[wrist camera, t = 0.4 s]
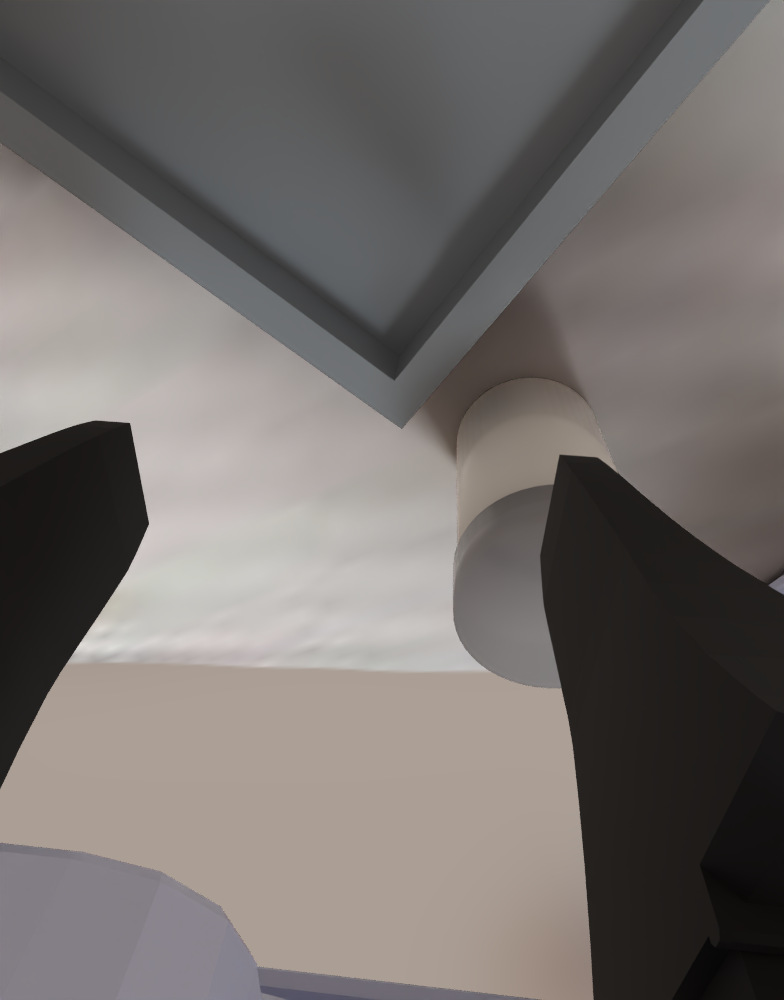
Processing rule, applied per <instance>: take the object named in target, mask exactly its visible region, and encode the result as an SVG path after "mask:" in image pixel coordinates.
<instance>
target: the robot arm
mask: <svg viewBox="0 0 784 1000" xmlns="http://www.w3.org/2000/svg"><path fill="white" fill-rule="evenodd" d="M148 525H149V521H148V516H147V511H146V505H145V500H144V495H143V490H142V484H141V479H140V474H139V468H138V463H137V458H136V452H135V447H134V442H133V437H132V431H131V426H130V423H122V422H108V421H91V422H87V423H82V424H79V425H76V426H72V427H69V428H66V429H63V430H61V431H58V432H55V433H52V434H50V435H47V436H44V437H41V438H39V439H36V440H34V441H31V442H28V443H26V444H23V445H21V446H18V447H16V448H13V449H10V450H8V451H5V452H3V453H0V788H1V786H2V784H3V782H4V780H5V777H6V776H7V773H8V771H9V769H10V767H11V765H12V763H13V761H14V758H15V757H16V754H17V752H18V750H19V748H20V746H21V744H22V742H23V740H24V738H25V736H26V734H27V733H28V731H29V728H30V726H31V725H32V722H33V721H34V719H35V717H36V715H37V713H38V711H39V709H40V707H41V705H42V703H43V701H44V700H45V698H46V696H47V694H48V692H49V691H50V689H51V687H52V686H53V684H54V682H55V680H56V679H57V677H58V676H59V674H60V672H61V671H62V669H63V668H64V666H65V665H66V663H67V662H68V660H69V659H70V657H71V656H72V654H73V653H74V651H75V650H76V648H77V647H78V645H79V644H80V642H81V641H82V639H83V638H84V636H85V635H86V633H87V632H88V630H89V629H90V627H91V626H92V624H93V623H94V621H95V620H96V618H97V617H98V615H99V614H100V612H101V611H102V609H103V608H104V607H105V605H106V603H107V602H108V600H109V599H110V597H111V596H112V594H113V593H114V591H115V590H116V588H117V587H118V585H119V584H120V582H121V580H122V579H123V577H124V576H125V574H126V572H127V571H128V569H129V567H130V565H131V563H132V561H133V559H134V557H135V555H136V552H137V550H138V548H139V546H140V544H141V541H142V539H143V537H144V534H145V532H146V530H147V527H148ZM540 564H541V579H542V592H543V604H544V610H545V615H546V619H547V624H548V629H549V633H550V638H551V643H552V647H553V652H554V656H555V661H556V665H557V670H558V674H559V679H560V683H561V688H562V692H563V697H564V701H565V706H566V710H567V714H568V719H569V726H570V731H571V737H572V743H573V751H574V760H575V770H576V779H577V788H578V798H579V807H580V819H581V829H582V841H583V851H584V863H585V875H586V889H587V901H588V916H589V929H590V941H591V942H590V943H591V959H592V976H593V995H594V1000H784V575H782V576H781V577H780V578H778V579H777V580H775V581H774V582H772V583H771V584H769V585H767V584H765V583H763V582H762V581H760V580H758V579H757V578H755V577H754V576H752V575H750V574H749V573H747V572H745V571H744V570H742V569H740V568H739V567H737V566H736V565H734V564H733V563H731V562H730V561H728V560H727V559H725V558H724V557H722V556H721V555H719V554H718V553H716V552H715V551H714V550H712V549H711V548H709V547H708V546H707V545H705V544H704V543H703V542H701V541H700V540H699V539H697V538H696V537H694V536H693V535H692V534H690V533H689V532H688V531H686V530H685V529H684V528H682V527H681V526H680V525H679V524H677V523H676V522H675V521H674V520H672V519H671V518H670V517H669V516H667V515H666V514H665V513H664V512H662V511H661V510H660V509H659V508H658V507H656V506H655V505H654V504H653V503H652V502H650V501H649V500H648V499H647V498H646V497H645V496H643V495H642V494H641V493H640V492H639V491H638V490H636V489H635V488H634V487H633V486H632V485H631V484H630V483H628V482H627V481H626V480H625V479H624V478H623V477H622V476H620V475H619V474H618V473H617V472H616V471H615V470H613V469H612V468H611V467H610V466H609V465H607V464H606V463H605V462H603V461H602V460H601V459H599V458H598V457H587V456H573V455H560V454H559V460H558V465H557V470H556V475H555V480H554V486H553V491H552V496H551V501H550V506H549V511H548V517H547V522H546V527H545V532H544V537H543V543H542V548H541V553H540ZM0 1000H538V999H529V998H521V997H513V996H504V995H495V994H487V993H478V992H470V991H461V990H453V989H444V988H436V987H426V986H418V985H410V984H401V983H392V982H384V981H376V980H367V979H358V978H350V977H341V976H333V975H324V974H316V973H307V972H298V971H290V970H282V969H273V968H264V967H257V963H256V962H255V960H254V958H253V956H252V955H251V953H250V951H249V950H248V948H247V946H246V945H245V943H244V942H243V940H242V939H241V937H240V935H239V934H238V932H237V931H236V929H235V928H234V927H233V925H232V923H231V922H230V920H229V919H228V917H227V916H226V914H225V913H224V911H223V910H222V908H221V907H220V906H219V905H217V904H216V903H214V902H212V901H210V900H209V899H207V898H205V897H204V896H202V895H200V894H198V893H197V892H195V891H193V890H192V889H190V888H188V887H186V886H185V885H183V884H181V883H180V882H178V881H176V880H175V879H173V878H171V877H169V876H168V875H166V874H164V873H163V872H161V871H157V870H153V869H149V868H145V867H141V866H137V865H133V864H129V863H125V862H121V861H117V860H113V859H109V858H105V857H101V856H97V855H93V854H89V853H85V852H79V851H70V850H69V851H68V850H60V849H51V848H42V847H33V846H23V845H14V844H5V843H0Z"/></svg>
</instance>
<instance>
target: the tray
mask: <svg viewBox="0 0 784 1000" xmlns="http://www.w3.org/2000/svg"><path fill="white" fill-rule="evenodd" d="M769 1H770V0H0V142H1V143H2V144H3V145H5V146H6V147H8V148H9V149H10V150H12V151H13V152H15V153H16V154H17V155H19V156H20V157H22V158H23V159H24V160H26V161H27V162H29V163H30V164H31V165H33V166H34V167H36V168H37V169H38V170H40V171H41V172H43V173H44V174H45V175H47V176H48V177H50V178H51V179H52V180H54V181H55V182H57V183H58V184H59V185H61V186H62V187H64V188H65V189H66V190H68V191H69V192H71V193H72V194H73V195H75V196H76V197H78V198H79V199H80V200H82V201H83V202H85V203H86V204H87V205H89V206H90V207H92V208H93V209H94V210H96V211H97V212H99V213H100V214H101V215H103V216H104V217H106V218H107V219H108V220H110V221H111V222H113V223H114V224H115V225H117V226H118V227H120V228H121V229H122V230H124V231H125V232H127V233H128V234H129V235H131V236H132V237H134V238H135V239H136V240H138V241H139V242H141V243H142V244H143V245H145V246H146V247H148V248H149V249H150V250H152V251H153V252H155V253H156V254H157V255H159V256H160V257H162V258H163V259H164V260H166V261H167V262H169V263H170V264H171V265H173V266H174V267H176V268H177V269H178V270H180V271H181V272H183V273H184V274H185V275H187V276H188V277H190V278H191V279H192V280H194V281H195V282H197V283H198V284H199V285H201V286H202V287H204V288H205V289H206V290H208V291H209V292H211V293H212V294H213V295H215V296H216V297H218V298H219V299H220V300H222V301H223V302H225V303H226V304H227V305H229V306H230V307H232V308H233V309H234V310H236V311H237V312H239V313H240V314H241V315H243V316H244V317H246V318H247V319H248V320H250V321H251V322H253V323H254V324H255V325H257V326H258V327H260V328H261V329H262V330H264V331H265V332H267V333H268V334H269V335H271V336H272V337H274V338H275V339H276V340H278V341H279V342H281V343H282V344H283V345H285V346H286V347H288V348H289V349H290V350H292V351H293V352H295V353H296V354H297V355H299V356H300V357H302V358H303V359H304V360H306V361H307V362H309V363H310V364H311V365H313V366H314V367H316V368H317V369H318V370H320V371H321V372H323V373H324V374H325V375H327V376H328V377H330V378H331V379H332V380H334V381H335V382H337V383H338V384H339V385H341V386H342V387H344V388H345V389H346V390H348V391H349V392H351V393H352V394H353V395H355V396H356V397H358V398H359V399H360V400H362V401H363V402H365V403H366V404H367V405H369V406H370V407H372V408H373V409H374V410H376V411H377V412H379V413H380V414H381V415H383V416H384V417H386V418H387V419H388V420H390V421H391V422H393V423H394V424H395V425H397V426H398V427H400V428H401V429H402V428H403V427H404V426H405V425H406V423H407V422H408V421H409V420H410V419H411V418H412V416H413V415H414V414H415V413H416V412H417V411H418V409H419V408H420V407H421V406H422V405H423V404H424V402H425V401H426V400H427V399H428V398H429V397H430V395H431V394H432V393H433V392H434V391H435V390H436V388H437V387H438V386H439V385H440V384H441V383H442V381H443V380H444V379H445V378H446V377H447V376H448V374H449V373H450V372H451V371H452V370H453V369H454V367H455V366H456V365H457V364H458V363H459V362H460V360H461V359H462V358H463V357H464V356H465V355H466V353H467V352H468V351H469V350H470V349H471V348H472V346H473V345H474V344H475V343H476V342H477V341H478V339H479V338H480V337H481V336H482V335H483V334H484V333H485V331H486V330H487V329H488V328H489V327H490V326H491V324H492V323H493V322H494V321H495V320H496V319H497V317H498V316H499V315H500V314H501V313H502V312H503V310H504V309H505V308H506V307H507V306H508V305H509V303H510V302H511V301H512V300H513V299H514V298H515V296H516V295H517V294H518V293H519V292H520V291H521V289H522V288H523V287H524V286H525V285H526V284H527V282H528V281H529V280H530V279H531V278H532V277H533V275H534V274H535V273H536V272H537V271H538V270H539V268H540V267H541V266H542V265H543V264H544V263H545V261H546V260H547V259H548V258H549V257H550V256H551V254H552V253H553V252H554V251H555V250H556V249H557V247H558V246H559V245H560V244H561V243H562V242H563V240H564V239H565V238H566V237H567V236H568V235H569V234H570V232H571V231H572V230H573V229H574V228H575V227H576V225H577V224H578V223H579V222H580V221H581V220H582V218H583V217H584V216H585V215H586V214H587V213H588V211H589V210H590V209H591V208H592V207H593V206H594V204H595V203H596V202H597V201H598V200H599V199H600V197H601V196H602V195H603V194H604V193H605V192H606V190H607V189H608V188H609V187H610V186H611V185H612V183H613V182H614V181H615V180H616V179H617V178H618V176H619V175H620V174H621V173H622V172H623V171H624V169H625V168H626V167H627V166H628V165H629V164H630V162H631V161H632V160H633V159H634V158H635V157H636V155H637V154H638V153H639V152H640V151H641V150H642V148H643V147H644V146H645V145H646V144H647V143H648V142H649V140H650V139H651V138H652V137H653V136H654V135H655V133H656V132H657V131H658V130H659V129H660V128H661V126H662V125H663V124H664V123H665V122H666V121H667V119H668V118H669V117H670V116H671V115H672V114H673V112H674V111H675V110H676V109H677V108H678V107H679V105H680V104H681V103H682V102H683V101H684V100H685V98H686V97H687V96H688V95H689V94H690V93H691V91H692V90H693V89H694V88H695V87H696V86H697V84H698V83H699V82H700V81H701V80H702V79H703V77H704V76H705V75H706V74H707V73H708V72H709V70H710V69H711V68H712V67H713V66H714V65H715V63H716V62H717V61H718V60H719V59H720V58H721V56H722V55H723V54H724V53H725V52H726V51H727V49H728V48H729V47H730V46H731V45H732V44H733V43H734V41H735V40H736V39H737V38H738V37H739V36H740V34H741V33H742V32H743V31H744V30H745V29H746V27H747V26H748V25H749V24H750V23H751V22H752V20H753V19H754V18H755V17H756V16H757V15H758V13H759V12H760V11H761V10H762V9H763V8H764V6H765V5H766V4H767V3H768V2H769Z"/></svg>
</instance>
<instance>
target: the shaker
mask: <svg viewBox="0 0 784 1000" xmlns="http://www.w3.org/2000/svg"><path fill="white" fill-rule="evenodd" d="M559 454H560V455H573V456H587V457H598V458H599V459H601V460H602V461H603V462H605V463H606V464H607V465H609V466H610V467H611V468H612V469H613V470H615V471H616V472H617V469H616V467H615V464H614V462H613V460H612V457H611V455H610V452H609V450H608V448H607V445H606V443H605V440H604V438H603V436H602V433H601V431H600V428H599V426H598V424H597V421H596V419H595V416H594V414H593V412H592V410H591V408H590V407H589V405H588V404H587V403H586V401H585V400H584V399H583V398H582V397H581V396H580V395H579V394H578V393H577V392H575V391H574V390H572V389H571V388H570V387H568V386H566V385H564V384H562V383H559V382H556V381H553V380H549V379H544V378H520V379H514V380H511V381H507V382H504V383H502V384H499V385H497V386H495V387H493V388H491V389H490V390H488V391H486V392H485V393H484V394H482V395H481V396H480V397H479V398H478V399H477V400H476V401H475V402H474V403H473V404H472V405H471V406H470V408H469V409H468V410H467V412H466V413H465V415H464V417H463V419H462V421H461V424H460V426H459V430H458V434H457V548H456V552H455V556H454V564H453V613H454V623H455V628H456V631H457V634H458V636H459V639H460V641H461V642H462V644H463V646H464V647H465V649H466V650H467V651H468V652H469V654H470V655H471V656H472V657H473V658H474V659H475V660H476V661H477V662H478V663H479V664H481V665H482V666H483V667H485V668H486V669H488V670H489V671H491V672H493V673H494V674H496V675H498V676H500V677H502V678H505V679H507V680H510V681H513V682H516V683H519V684H523V685H528V686H533V687H541V688H561V683H560V679H559V674H558V670H557V665H556V661H555V656H554V652H553V647H552V643H551V638H550V633H549V629H548V624H547V619H546V615H545V610H544V604H543V592H542V579H541V564H540V553H541V548H542V543H543V537H544V532H545V527H546V522H547V517H548V511H549V506H550V501H551V496H552V491H553V486H554V480H555V475H556V470H557V465H558V460H559ZM617 473H618V472H617Z"/></svg>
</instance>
